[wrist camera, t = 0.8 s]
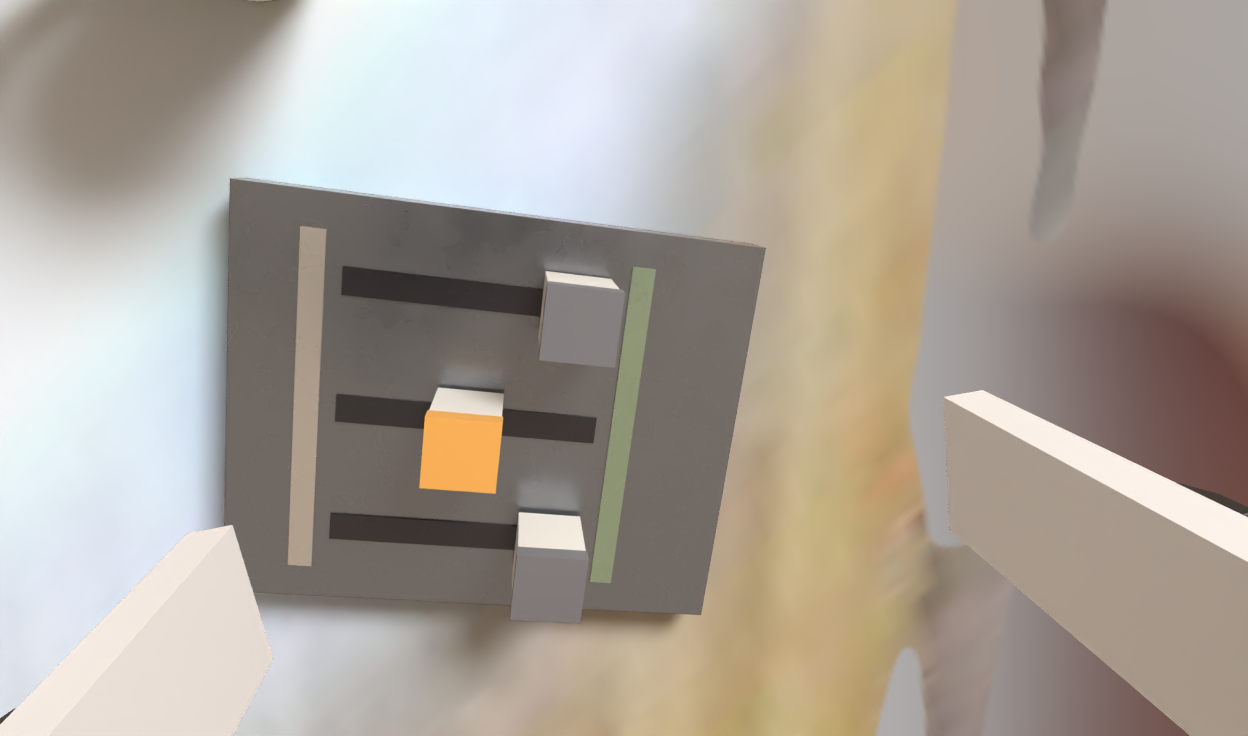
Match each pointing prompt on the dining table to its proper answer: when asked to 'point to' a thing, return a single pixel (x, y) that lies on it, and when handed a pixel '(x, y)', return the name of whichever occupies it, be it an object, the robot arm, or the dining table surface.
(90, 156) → the dining table surface
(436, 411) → the tripped breaker
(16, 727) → the robot arm
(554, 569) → the block
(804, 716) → the dining table surface
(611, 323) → the block
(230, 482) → the panel
